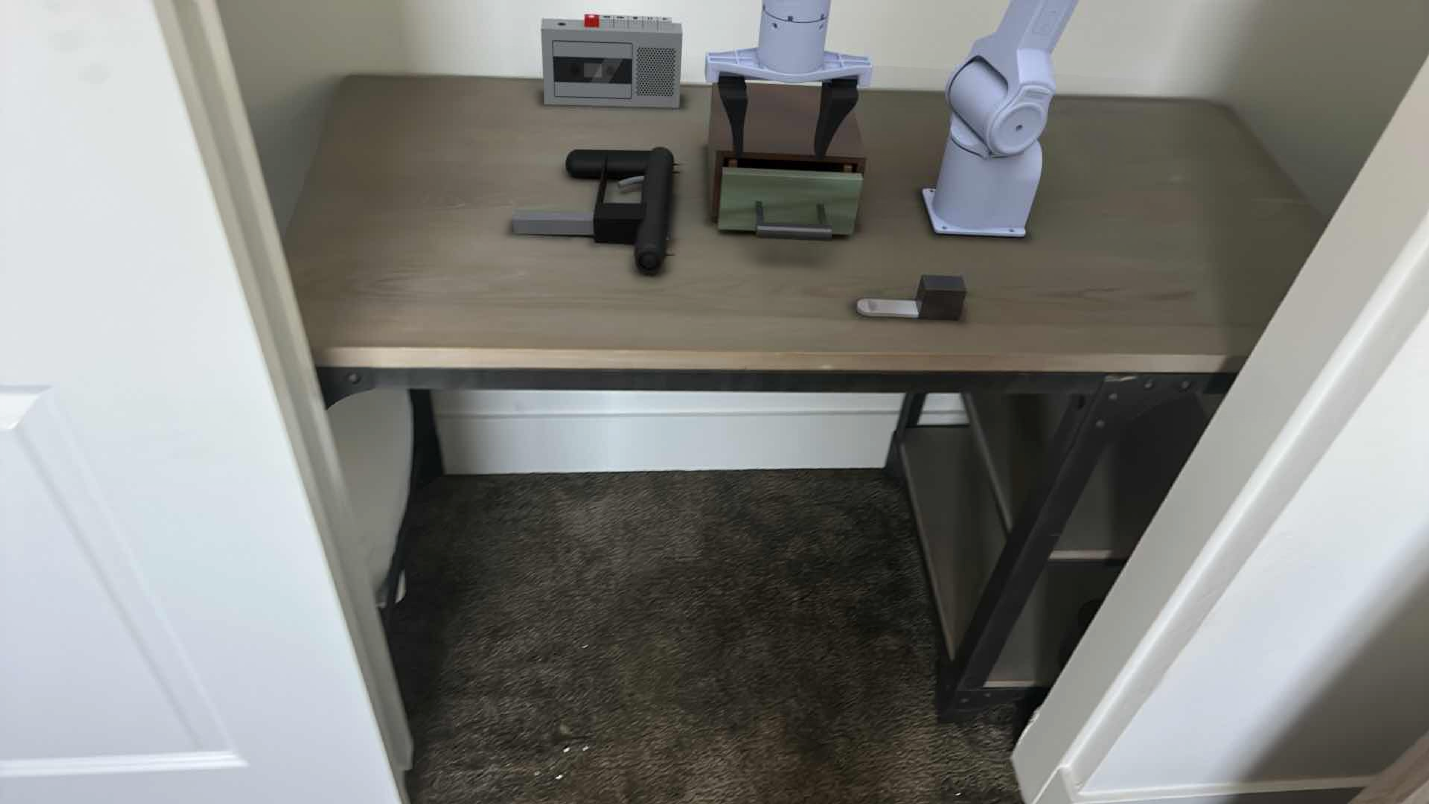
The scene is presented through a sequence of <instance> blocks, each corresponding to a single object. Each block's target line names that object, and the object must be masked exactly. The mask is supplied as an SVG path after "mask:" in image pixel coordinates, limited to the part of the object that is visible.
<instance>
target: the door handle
mask: <svg viewBox="0 0 1429 804" xmlns="http://www.w3.org/2000/svg"><path fill="white" fill-rule="evenodd" d="M564 163H565V169H566V171H567V172H568V174H569V175H571V176H572V177H583V178H584V177H586V178H587V177H593V178H595V177H596V178H600V179H599V185H598V189H597V195H596V200H595V205H594V210H593V211H592V210H591V211H590V210H543V209H541V210H539V209H535V210H534V209H530V210H529V209H515V210H514V211H513V214H512V215H513V216H512V219H511V220H512V227H513V234H515V235H564V236H565V235H566V236H567V235H571V236H573V235H574V236H575V235H576V236H593V237H594V238H593V239H594V243H595V244H632V245H633V244H634V249H633V257H634V260H635V261H634V262H635V263H634V264H635V266H636V268H637V270H639V271H640V272H642V273H644V274H648V275H649V274H654V273H657V272H659V271H660V270H661V269H662V267H663V265H664V262H665V261H666V257H670V256H672V257H673V256H676V253H667V249H668V241H669V237H668V236H669V225H670V215H671V214H670V213H671V202H672V195H673V194H672V193H673V182H674V174H682V173H684V172H683V171H676V170H675V166H684V164H682V163H675V156H674V154H673V152H672V151H671V150H670V149H669V148H667V147H664V146H656V147H653V148H652V149H650V150H649V149H648V150H646V149H645V150H643V149H642V150H639V149H587V148H586V149H585V148H583V149H582V148H581V149H579V148H576V149H573V150H571V151H570V152H569V153H568V154H567V156H566V158H565V162H564ZM609 178H625V179H622V180H620V181H617V182H616V185H617V188H619V189H622V188H624V187H628V186H630V185H634V184H639V183H642V188H641V196H640V203H639V202H604V201H605V196H606V190H607V185H608V179H609Z"/></svg>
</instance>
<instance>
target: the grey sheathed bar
mask: <svg viewBox="0 0 1429 804" xmlns="http://www.w3.org/2000/svg"><path fill="white" fill-rule="evenodd" d="M967 292H968V288H967V286H966V283H965V280H964V277H963V276H962V275H940V274H939V275H938V274H921V275H920V279H919V284H918V288H917V291H916V296H915V299H914V300H907V299H906V300H905V299H878V298H862V299H860V300H858V301H857V302H856V306H855V307H856V312H857V313H859V314H860V315H862V316H866V317H884V318H885V317H886V318H911V319H918V320H920V319H921V320H941V321H942V320H943V321H947V320H948V321H959V320H960V316H961V314H962V310H963V306H964V303H965V299H966V297H967Z"/></svg>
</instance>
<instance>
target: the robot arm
mask: <svg viewBox="0 0 1429 804" xmlns="http://www.w3.org/2000/svg"><path fill="white" fill-rule="evenodd" d="M1079 2H1080V0H1010V2H1009V3H1008V6H1007V8H1006V10H1005V13H1004V14H1003V16H1002V19H1001V21H1000V23H999V25H998V27H997V29H996V31H994V32H992V33H990V34H987V35H984V36H982V37H980V38H978V39H976V40H975V41H974V42H973V44H972V46H971V48H970V50H969V52H968V54H967V55H966V57H965V58H964V59H963V60H962V61H961V62H960V63H959V64H958V65H957V66H956V67H955V68H954V70H953V71H952V72H951V74H950V75H949V77H948V79H947V81H946V85H945V89H944V99H945V102H946V105H947V106H948V108H949V109H950V110H951V115H950V119H949V123H950V128H949V132H948V136H947V140H946V145H945V149H944V153H943V157H942V161H941V166H940V169H939V172H938V173H939V174H938V178H937V182H936V185H935V188H923V189H922V191H921V195H922V198H923V201H924V204H925V207H926V210H927V214H928V216H929V220H930V222H931V225H932V229H933V231H934V232H935V233H936V234H945V235H946V234H947V235H969V236H993V237H1016V238H1021V237H1023V238H1024V237H1025V236H1026V233H1027V232H1026V229H1025V227H1026V225H1027V221H1028V218H1029V214H1030V212H1031V208H1032V205H1033V202H1034V200H1035V196H1036V193H1037V190H1038V187H1039V184H1040V180H1041V175H1042V169H1043V168H1042V167H1043V151H1042V146H1041V144H1040V142H1039V138H1040V136H1041V135H1042V133H1043V132H1044V130H1045V127H1046V125H1047V121H1048V112H1049V107H1050V103H1051V101H1052V98H1053V97H1054V95H1055V93H1056V91H1057V84H1056V83H1057V82H1056V78H1055V72H1054V67H1053V62H1052V53H1053V51H1054V50H1055V47H1056V46H1057V44H1058V41H1059V40H1060V38H1061V36H1062V34H1063V32H1064V30H1065V28H1066V26H1067V25H1068V22H1069V21H1070V19H1071V17H1072V15H1073V13H1074V11H1075V9H1076V7H1077V5H1078V4H1079ZM831 3H832V0H762V1H761V13H760V23H759V33H758V44H757V46H754V47H747V48H741V49H734V50H733V49H732V50H724V51H705V59H704V60H705V61H704V77H705V82H706V83H709V84H712V83H717V84H718V89H719V94H720V98H721V100H722V103H723V105H724V108H725V110H726V113H727V116H728V119H729V122H730V125H731V130H732V142H733V146H732V148H733V153H734V158H742V155H743V134H744V122H745V115H746V109H747V104H748V97H747V93H746V88H747V85H746V81H763V82H765V81H766V82H769V81H770V82H779V83H783V84H805V83H821V86H822V88H821V101H820V111H819V117H818V122H817V127H816V132H815V137H814V152H815V155H816V158H817V159H820V160H823V159H824V157H825V154H826V152H827V149H828V147H829V144H830V142H831V140H832V138H833V136H834V134H835V133H836V131H837V129H838V127H839V126H840V124H841V123H842V121H843V120H844V119H845V117H846V116H847V115H848V114H849V112H850V111H851V110H852V109H853V108H854V109H855V107H856V105H857V103H858V100H859V95H860V94H859V93H860V92H859V91H858V90H859V89H858V87H865V88H867V87H870V85H871V79H872V75H873V69H874V65H873V63H872V61H871V58H870V57H869V56H867V55H866V56H865V55H853V54H846V53H842V52H836V51H830V50H825V46H826V39H827V32H828V26H829V17H830V10H831V5H832V4H831Z"/></svg>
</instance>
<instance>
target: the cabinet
mask: <svg viewBox="0 0 1429 804" xmlns="http://www.w3.org/2000/svg"><path fill="white" fill-rule="evenodd" d="M745 82H746V81H745ZM746 85H747V88H746V93H747V97H748V104H747V109H746V115H745V122H744V134H743V155H742V158H748V159H770V160H791V161H813V162H834V163H851V165H852V172H851V173H861V174H862V178H863V179H864V176H865V171H866V165H867V160H868V156H867V151H866V149H865V144H864V141H863V137H862V133H861V129H860V126H859V125H860V124H859V122H858V118H857V114H856V111H855V107H854V108H853V109H852V110H851V111H850V112H849V114H848V115H847V116H846V117H845V119H844V120H843V121H842V123H841V124H840V126H839V127H838V129H837V131H836V133H835V134H834V136H833V138H832V140H831V142H830V144H829V147H828V149H827V152H826V154H825V157H824V159H823V160H820V159H817V158H816V155H815V152H814V137H815V132H816V127H817V122H818V117H819V111H820V101H821V88H822V85H805V84H789V83H768V82H767V83H766V82H749V81H747V82H746ZM708 121H709V122H708V136H707V137H708V139H707V164H708V165H707V166H708V167H707V168H708V186H709V187H708V188H709V189H708V191H709V209H710V210H709V211H710V212H709V213H710V222H712V223H718V216H719V204H720V192H721V179H722V168H723V164H724V157H727V158H734V153H733V148H732V146H733V142H732V130H731V125H730V122H729V119H728V116H727V113H726V110H725V108H724V105H723V103H722V100H721V98H720V94H719V89H718V84H717V83H711V93H710V108H709V120H708Z"/></svg>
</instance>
